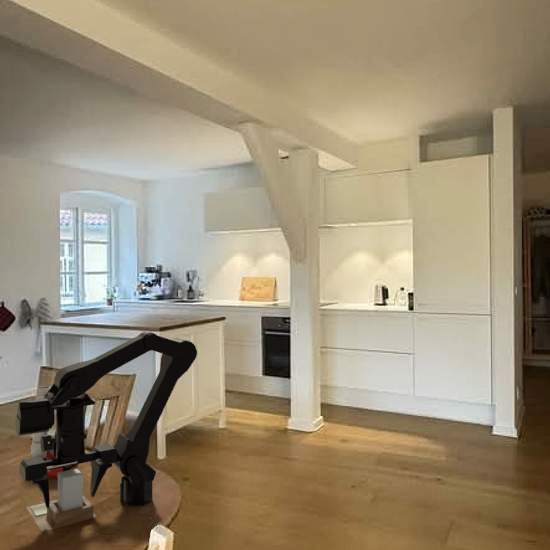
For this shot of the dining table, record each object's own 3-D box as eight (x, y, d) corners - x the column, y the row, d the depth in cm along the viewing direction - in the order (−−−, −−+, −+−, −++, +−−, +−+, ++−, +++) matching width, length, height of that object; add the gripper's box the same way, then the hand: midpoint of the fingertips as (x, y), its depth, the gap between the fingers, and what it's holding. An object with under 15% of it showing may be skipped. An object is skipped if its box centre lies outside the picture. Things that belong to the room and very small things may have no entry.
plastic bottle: (32, 455, 153) (32, 386, 153) (57, 453, 155) (57, 384, 155) (29, 462, 146) (29, 390, 147) (55, 460, 148) (55, 389, 149)
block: (82, 517, 111) (82, 474, 111) (62, 522, 109) (63, 478, 109) (76, 510, 114) (77, 468, 114) (57, 515, 112) (57, 472, 112)
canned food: (67, 480, 134) (67, 436, 134) (39, 477, 136) (39, 434, 136) (84, 469, 142) (84, 428, 142) (57, 467, 143) (57, 426, 143)
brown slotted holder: (97, 521, 111) (97, 504, 111) (41, 536, 105) (41, 519, 105) (77, 499, 123) (77, 484, 123) (25, 511, 116) (25, 495, 116)
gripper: (101, 413, 124) (101, 480, 124) (14, 426, 113) (14, 500, 112) (119, 423, 115) (119, 495, 115) (26, 439, 104) (25, 519, 104)
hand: (70, 501), depth 112 cm, fingers open, 9 cm apart
